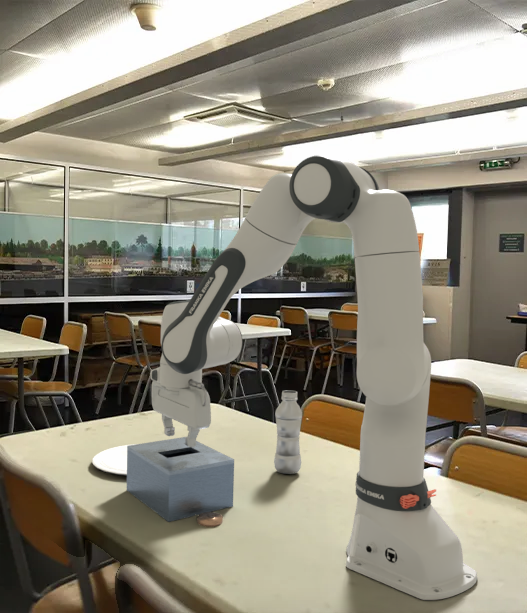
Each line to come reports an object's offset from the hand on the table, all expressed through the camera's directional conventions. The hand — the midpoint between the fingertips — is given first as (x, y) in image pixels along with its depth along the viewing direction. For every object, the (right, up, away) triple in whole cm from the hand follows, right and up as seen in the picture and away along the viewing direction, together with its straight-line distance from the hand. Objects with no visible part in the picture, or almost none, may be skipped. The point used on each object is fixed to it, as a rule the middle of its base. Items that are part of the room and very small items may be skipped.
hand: (179, 440), depth 132 cm
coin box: (0, -13, +1) cm, 13 cm away
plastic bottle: (+24, -12, +19) cm, 33 cm away
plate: (-12, -11, +23) cm, 28 cm away
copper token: (+7, -14, -11) cm, 19 cm away
